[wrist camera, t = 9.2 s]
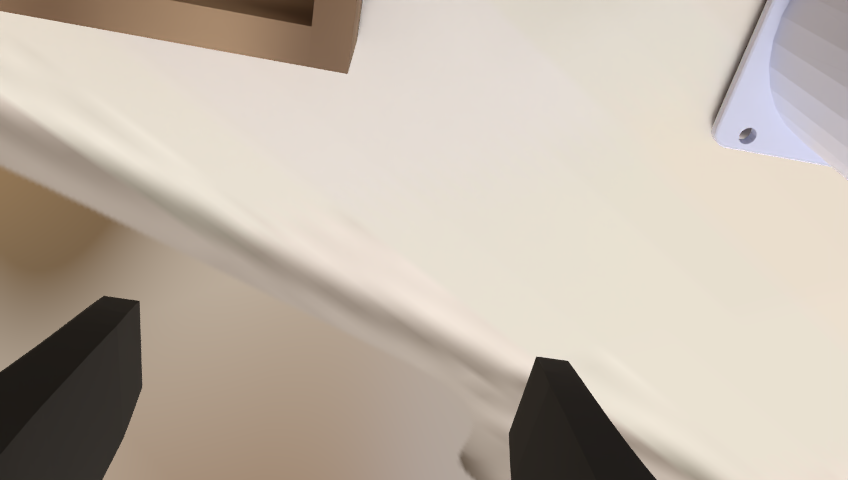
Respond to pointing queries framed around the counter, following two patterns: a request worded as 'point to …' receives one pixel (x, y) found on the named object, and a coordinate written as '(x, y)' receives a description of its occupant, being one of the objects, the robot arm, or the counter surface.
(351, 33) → the parts box
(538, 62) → the counter surface
